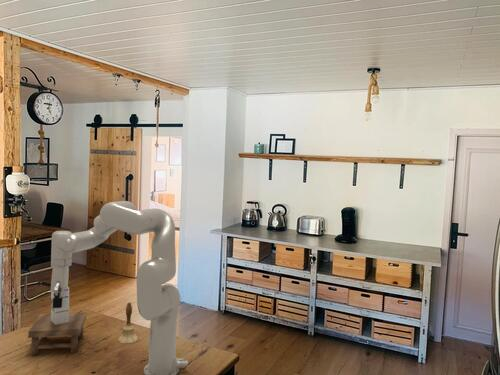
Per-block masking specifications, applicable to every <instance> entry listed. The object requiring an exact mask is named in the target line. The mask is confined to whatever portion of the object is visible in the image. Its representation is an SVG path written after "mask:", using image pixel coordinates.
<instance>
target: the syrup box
mask: <svg viewBox="0 0 500 375" xmlns="http://www.w3.org/2000/svg"><path fill="white" fill-rule="evenodd" d="M59 290H61V289H59ZM58 293H60V292H58ZM53 296H54V291H53V292H51V291H50V314H51V322H52V323H53V324H54V325H58V324H63V323H68V322H69V313H70V286H66V287H65V290H64V291H63V292H62V296H61V297H62V307H61V308H53Z"/></svg>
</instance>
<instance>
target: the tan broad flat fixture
mask: <svg viewBox="0 0 500 375" xmlns="http://www.w3.org/2000/svg"><path fill="white" fill-rule="evenodd" d="M86 320H87V312H69V322H68V323H63V324H58V325H54V324H53V323H52V322H51V313H41V314H39V315H38V317H37V319H36V320H35V322H34V323H33V324H32V325H31V327H30V328H29V330H28V331H27V332H28V333H27V335H28V336H27V338H28V339H31V352H30V355H31V356H32V357H36V356H38V355H39V350H40V349H41V350H43V349H60V348H63V349H64V348H70V354H74V355H75V354H77V353H78V347H79V343H78V342H79V340H78V339H82V338H83V337H84V325H85V322H86ZM48 337H49V338H51V337H54V338H55V337H71V338H70V342H62V343H61V342H57V343H42V344H39V343H40V341H47V340H48Z"/></svg>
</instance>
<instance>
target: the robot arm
mask: <svg viewBox="0 0 500 375" xmlns="http://www.w3.org/2000/svg"><path fill="white" fill-rule="evenodd" d="M118 230H119V231H121V232H123V233H124V232H125V233H127V234H130V235H136V236H138V235H144V234H149V233H152V232H153V236H152V240H151V244H150V248H151V257H150V259H148V260H146V261H144V262H143V263H141V265H139V267H138V270H137V273H136V306H137V310H138V311H137V312H138V313H139V315H140V317H141V318H143V319H144V320H145V321H150V323H149V324H150V325H149V342H148V363H147V364H146V365H145V366H144V368H143V374H144V375H177V374H178V373H179V370H180V367H188V365H189V360H185V359H184V358H185V357H184V358H183V357H181V358H177V355H176V352H177V351H176V350H177V349H176V348H177V347H176V346H177V345H176V344H177V328H178V316H179V309H180V305H181V293H180V291H179V289H178V288H177V287H176V286H175V285H173V284H167V282H170V281H171V280H172V279H174V277H175V276H176V273H177V272H176V271H177V261H176V260H177V258H176V257H177V256H176V254H177V252H176V226H175V222H174V219H173V217H172V215H171V214H169V213H168V212H167V211H165V210H164V209H160V208H145V209H137V207H136V205H135V204H134V203H133V202H131V201H128V200H119V201H110V202H107V203H104V205H103V206H102V207H101V209H100V211H99V214H98V215H97V216H96V217H95V218H94V219H93V227H91V228H90V229H88V230H85V231H77V232H71V231H70V230H55V231H54V232H52V234H51V248H50V249H51V250H50V251H51V254H50V267H52V272H51V282H50V293H51V292H53V291H54V296H53V308H61V307H62V297H61V296H62V292H63V291H64V290H65V287H66V286H68V285H69V279H70V278H69V275H70V274H69V273H70V272H69V271H70V268H69V267H70V266H72V262H73V258H72V257H73V254H74V253H79V252H82V251H86V250H92V249H94V248H95V247H97V246H99V245H101V244H102V243H104V242H105V241H106V240H108V238H109V237H110V236H111V235H112V234H113V233H115V232H116V231H118ZM68 287H69V286H68ZM59 289H61V290H59ZM58 292H60V293H58Z"/></svg>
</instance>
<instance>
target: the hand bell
mask: <svg viewBox="0 0 500 375" xmlns="http://www.w3.org/2000/svg"><path fill="white" fill-rule="evenodd" d="M132 313H133V307H132V304H131V302H127V304H126V307H125V315H126V325H125V326H123V328H122V333H121V335H120V336H119V337H118V339H117V342H118V343H120V344H122V345H123V344H124V345H125V344H128V345H129V344H135V343H136V342H137V341H138V340H139V336H137V335H136V333H135V328H134V326H133V325H131V323H132V322H131V320H132V319H131V317H132Z"/></svg>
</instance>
